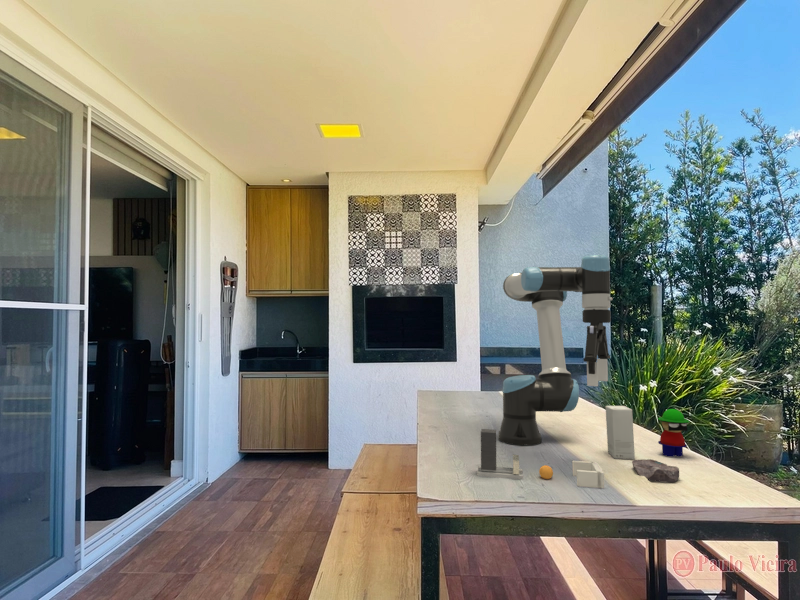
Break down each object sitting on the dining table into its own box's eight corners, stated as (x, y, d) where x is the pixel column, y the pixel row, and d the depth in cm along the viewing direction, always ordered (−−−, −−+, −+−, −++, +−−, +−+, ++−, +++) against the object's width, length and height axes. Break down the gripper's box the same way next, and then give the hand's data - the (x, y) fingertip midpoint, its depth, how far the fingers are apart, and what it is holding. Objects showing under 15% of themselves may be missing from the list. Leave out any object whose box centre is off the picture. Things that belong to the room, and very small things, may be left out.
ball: (536, 478, 121) (536, 464, 122) (545, 476, 123) (545, 462, 124) (546, 482, 118) (546, 468, 119) (555, 479, 120) (555, 466, 121)
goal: (577, 487, 115) (577, 471, 115) (572, 475, 124) (572, 460, 124) (604, 489, 113) (604, 473, 113) (597, 477, 122) (596, 462, 123)
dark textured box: (480, 476, 122) (480, 432, 123) (482, 469, 128) (481, 428, 128) (519, 479, 120) (518, 435, 120) (518, 472, 125) (518, 430, 126)
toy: (686, 453, 150) (685, 407, 150) (694, 460, 141) (693, 412, 142) (655, 451, 152) (654, 405, 153) (662, 458, 144) (660, 410, 145)
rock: (685, 485, 119) (684, 468, 120) (637, 481, 123) (636, 464, 123) (675, 476, 127) (674, 459, 128) (630, 472, 130) (630, 456, 131)
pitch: (468, 485, 119) (468, 476, 119) (472, 469, 132) (472, 461, 132) (608, 497, 111) (608, 487, 111) (597, 478, 124) (597, 470, 125)
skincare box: (635, 460, 142) (633, 409, 143) (612, 459, 143) (611, 408, 144) (627, 453, 150) (626, 405, 151) (606, 451, 151) (604, 404, 152)
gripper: (601, 307, 119) (603, 389, 117) (618, 310, 139) (619, 379, 138) (571, 308, 123) (573, 387, 122) (592, 310, 143) (593, 378, 142)
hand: (597, 383), depth 130 cm, fingers open, 13 cm apart
